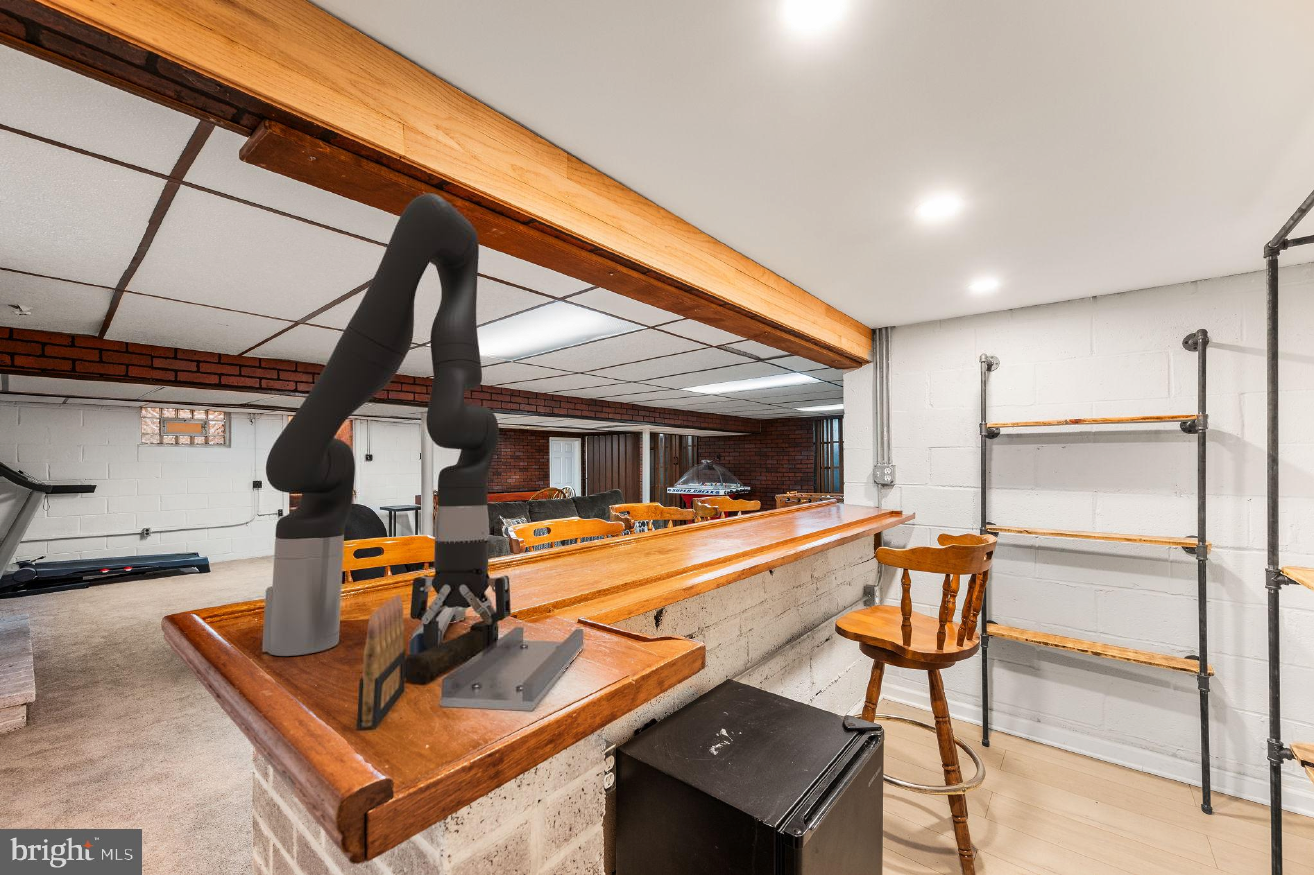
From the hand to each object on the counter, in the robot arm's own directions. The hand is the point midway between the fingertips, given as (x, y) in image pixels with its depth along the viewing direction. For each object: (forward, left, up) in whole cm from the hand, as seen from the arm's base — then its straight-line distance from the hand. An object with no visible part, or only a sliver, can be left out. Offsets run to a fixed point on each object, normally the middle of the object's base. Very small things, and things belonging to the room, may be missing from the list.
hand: (460, 649), depth 78 cm
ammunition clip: (-1, -17, -2) cm, 17 cm away
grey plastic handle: (-10, +13, -2) cm, 16 cm away
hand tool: (0, 0, -2) cm, 2 cm away
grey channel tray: (+11, -4, -2) cm, 12 cm away
